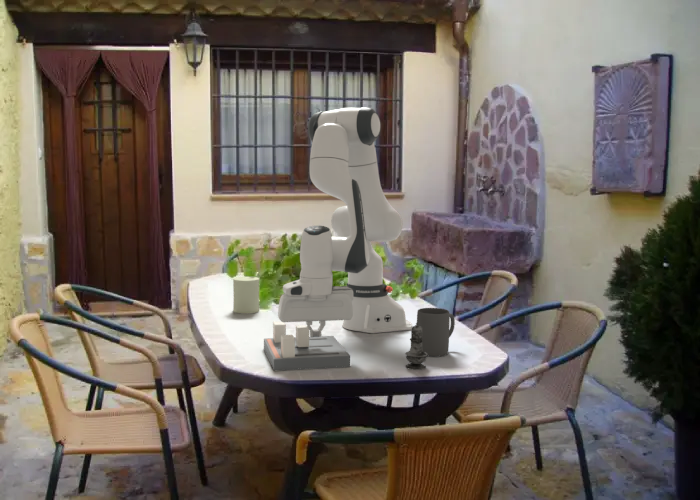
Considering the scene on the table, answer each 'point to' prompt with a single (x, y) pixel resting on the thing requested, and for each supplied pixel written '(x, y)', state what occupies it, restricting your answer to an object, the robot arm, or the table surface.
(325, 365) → the breaker panel
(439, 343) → the mug
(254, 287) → the can
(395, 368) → the table surface
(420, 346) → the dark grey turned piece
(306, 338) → the handle
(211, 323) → the table surface
